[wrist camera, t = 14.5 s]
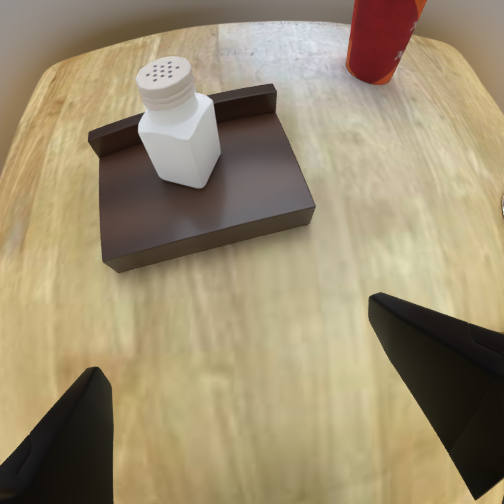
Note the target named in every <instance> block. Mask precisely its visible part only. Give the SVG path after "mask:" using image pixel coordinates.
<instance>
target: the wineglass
mask: <svg viewBox="0 0 504 504" xmlns="http://www.w3.org/2000/svg"><path fill="white" fill-rule="evenodd" d="M502 211H503V215H504V195H503V198H502Z"/></svg>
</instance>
